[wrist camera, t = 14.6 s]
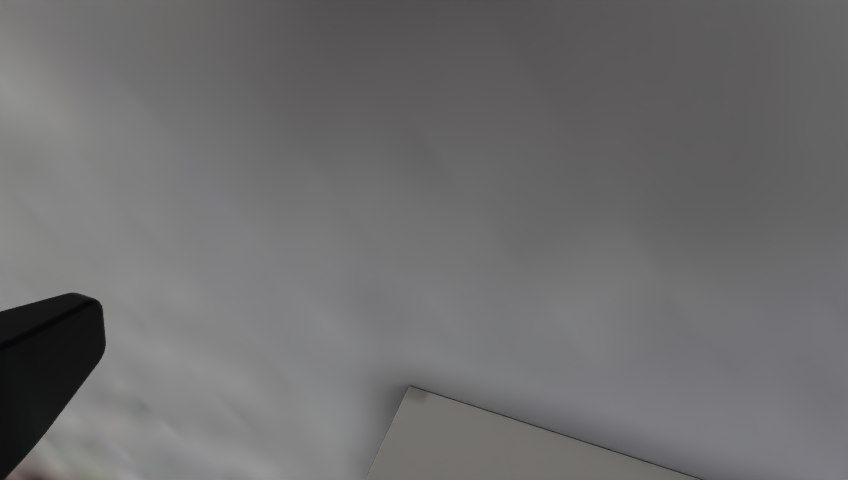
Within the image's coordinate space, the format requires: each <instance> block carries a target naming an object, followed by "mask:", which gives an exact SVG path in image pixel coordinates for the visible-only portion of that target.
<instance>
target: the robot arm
mask: <svg viewBox="0 0 848 480" xmlns="http://www.w3.org/2000/svg"><path fill="white" fill-rule="evenodd" d="M105 346H106V339H105V329H104V318H103V308H102V305H101V304H100V302H99V301H98V300H96V299H94V298H91V297H88V296H85V295H82V294H79V293H67V294H63V295H60V296H56V297H52V298H49V299H45V300H41V301H38V302H34V303H30V304H27V305H23V306H19V307H16V308H12V309H8V310H4V311H1V312H0V480H5V478H6V477H7V476H8V475H9V474H10V473H11V472H12V471H13V470H14V469H15V468H16V466H17V465H18V464H19V463H20V462H21V461H22V460H23V459H24V458H25V457H26V455H27V454H28V453H29V452H30V451H31V450H32V449H33V447H34V446H35V445H36V444H37V443H38V441H39V440H40V439H41V438H42V437H43V435H44V434H45V433H46V432H47V430H48V429H49V428H50V426H51V425H52V424H53V422H54V421H55V420H56V418H57V417H58V416H59V414H60V413H61V412H62V410H63V409H64V408H65V406H66V405H67V404H68V402H69V401H70V400H71V398H72V397H73V396H74V394H75V393H76V392H77V390H78V389H79V388H80V386H81V385H82V384H83V383H84V381H85V380H86V379H87V377H88V376H89V375H90V373H91V372H92V371H93V369H94V368H95V367H96V365H97V364H98V363H99V361H100V360H101V358H102V356H103V354H104V351H105Z"/></svg>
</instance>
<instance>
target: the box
mask: <svg viewBox="0 0 848 480" xmlns="http://www.w3.org/2000/svg"><path fill="white" fill-rule="evenodd" d="M365 480H700V479H697V478H694V477H691V476H688V475H685V474H682V473H678V472H675V471H672V470H669V469H666V468H663V467H660V466H657V465H654V464H650V463H647V462H644V461H641V460H638V459H635V458H632V457H629V456H626V455H622V454H619V453H616V452H613V451H610V450H607V449H604V448H601V447H598V446H594V445H591V444H588V443H585V442H582V441H579V440H576V439H573V438H570V437H567V436H563V435H560V434H557V433H554V432H551V431H548V430H545V429H542V428H539V427H535V426H532V425H529V424H526V423H523V422H520V421H517V420H514V419H511V418H507V417H504V416H501V415H498V414H495V413H492V412H489V411H486V410H483V409H479V408H476V407H473V406H470V405H467V404H464V403H461V402H458V401H455V400H451V399H448V398H445V397H442V396H439V395H436V394H433V393H430V392H427V391H423V390H420V389H417V388H414V387H411V386H409V387H408V389H407V391H406V393H405V396H404V398H403V400H402V402H401V404H400V406H399V408H398V410H397V413H396V415H395V417H394V419H393V421H392V423H391V425H390V427H389V430H388V432H387V434H386V436H385V438H384V440H383V442H382V444H381V447H380V449H379V451H378V453H377V455H376V457H375V459H374V461H373V464H372V466H371V468H370V470H369V472H368V474H367V476H366V478H365Z"/></svg>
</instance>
